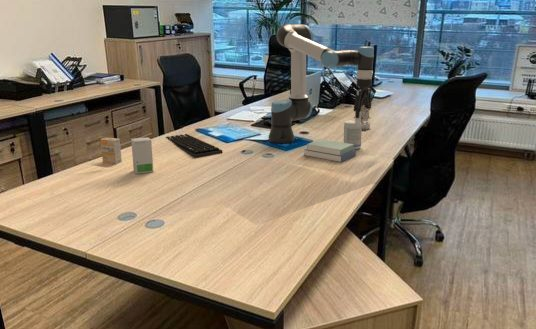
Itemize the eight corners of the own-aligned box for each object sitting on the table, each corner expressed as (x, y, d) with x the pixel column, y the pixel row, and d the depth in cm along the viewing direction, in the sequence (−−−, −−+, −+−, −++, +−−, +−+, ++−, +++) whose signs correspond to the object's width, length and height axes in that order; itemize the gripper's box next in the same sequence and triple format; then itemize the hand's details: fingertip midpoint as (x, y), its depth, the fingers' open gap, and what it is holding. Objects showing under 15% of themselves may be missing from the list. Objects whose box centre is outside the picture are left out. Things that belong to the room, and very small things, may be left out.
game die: (371, 122, 233) (373, 103, 230) (368, 125, 226) (369, 105, 223) (354, 120, 237) (355, 101, 234) (350, 123, 229) (351, 104, 226)
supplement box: (102, 164, 220) (99, 139, 217) (109, 162, 225) (106, 137, 221) (116, 166, 218) (113, 140, 214) (122, 163, 222) (119, 138, 218)
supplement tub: (364, 148, 247) (365, 122, 243) (351, 150, 242) (353, 124, 238) (352, 144, 255) (353, 119, 250) (339, 147, 250) (340, 121, 245)
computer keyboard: (163, 142, 265) (162, 136, 263) (187, 139, 273) (187, 133, 272) (195, 160, 229) (194, 152, 228) (222, 155, 237) (222, 148, 236)
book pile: (303, 155, 234) (304, 144, 232) (319, 149, 246) (319, 138, 244) (341, 162, 221) (341, 150, 219) (355, 155, 233) (356, 144, 231)
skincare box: (136, 174, 205) (132, 141, 201) (133, 170, 211) (130, 138, 206) (154, 171, 209) (151, 139, 204) (151, 168, 215) (148, 136, 210)
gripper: (362, 80, 214) (359, 127, 221) (380, 76, 230) (376, 120, 237) (348, 79, 218) (345, 125, 225) (366, 76, 235) (363, 118, 241)
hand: (361, 122), depth 231 cm, fingers closed on game die, 9 cm apart
